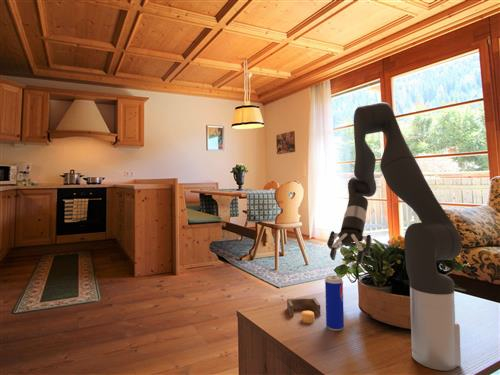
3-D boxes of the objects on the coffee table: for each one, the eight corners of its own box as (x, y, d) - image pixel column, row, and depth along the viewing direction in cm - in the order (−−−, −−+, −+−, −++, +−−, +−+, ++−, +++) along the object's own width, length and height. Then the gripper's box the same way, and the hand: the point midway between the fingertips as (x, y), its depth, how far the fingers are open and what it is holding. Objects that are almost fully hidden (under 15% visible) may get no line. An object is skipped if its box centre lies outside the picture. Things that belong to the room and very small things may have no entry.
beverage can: (344, 332, 88) (343, 280, 88) (326, 330, 89) (325, 279, 89) (342, 324, 93) (341, 275, 93) (325, 323, 94) (324, 275, 94)
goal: (315, 307, 107) (315, 297, 107) (320, 315, 100) (320, 305, 100) (287, 308, 106) (287, 298, 106) (290, 316, 99) (290, 305, 99)
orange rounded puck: (312, 318, 98) (312, 310, 98) (315, 323, 94) (315, 315, 94) (300, 318, 98) (300, 310, 98) (303, 323, 94) (302, 315, 94)
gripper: (332, 213, 111) (321, 252, 102) (373, 216, 103) (365, 258, 94) (337, 225, 115) (327, 263, 107) (376, 228, 107) (369, 269, 99)
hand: (345, 260), depth 100 cm, fingers open, 8 cm apart
